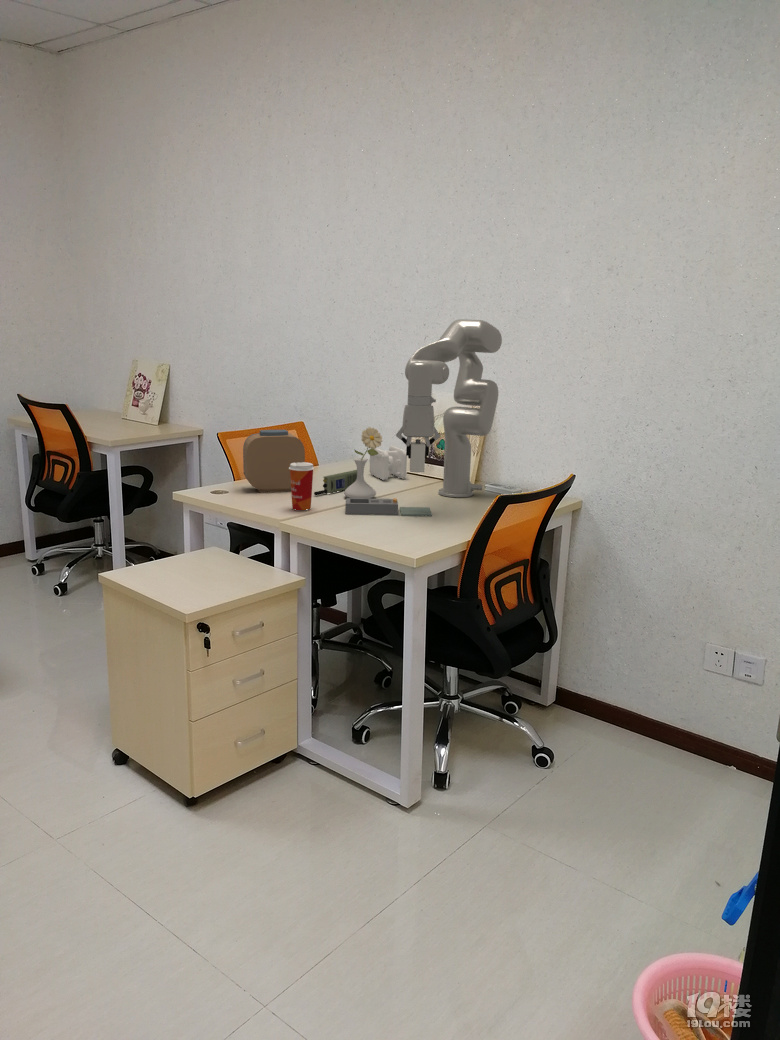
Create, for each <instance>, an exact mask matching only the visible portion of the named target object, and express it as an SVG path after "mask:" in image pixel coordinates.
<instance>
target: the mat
mask: <svg viewBox="0 0 780 1040" xmlns="http://www.w3.org/2000/svg"><path fill="white" fill-rule="evenodd" d="M399 512H400V516H401V517H432V516H433V514H432V510H431V507H428V506H421V507H420V506H399Z"/></svg>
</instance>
